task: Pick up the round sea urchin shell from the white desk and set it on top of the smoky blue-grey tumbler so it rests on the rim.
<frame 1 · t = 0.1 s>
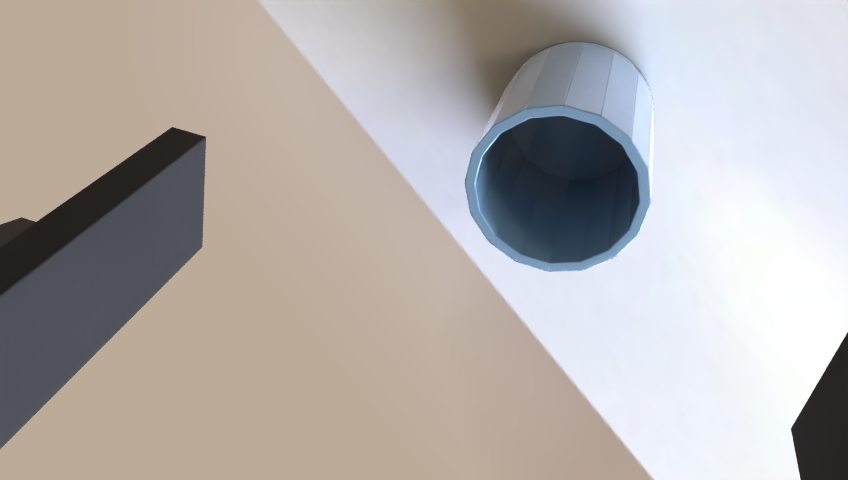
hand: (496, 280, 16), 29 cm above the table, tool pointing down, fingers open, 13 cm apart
tumbler: (576, 115, 44), on the table
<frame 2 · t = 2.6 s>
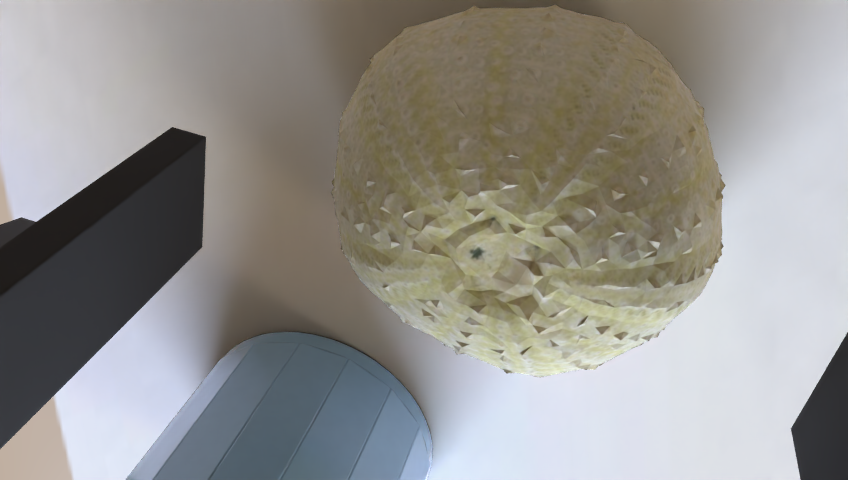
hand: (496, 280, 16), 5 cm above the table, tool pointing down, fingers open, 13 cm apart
tumbler: (318, 428, 28), on the table
sea urchin shell: (531, 161, 21), on the table
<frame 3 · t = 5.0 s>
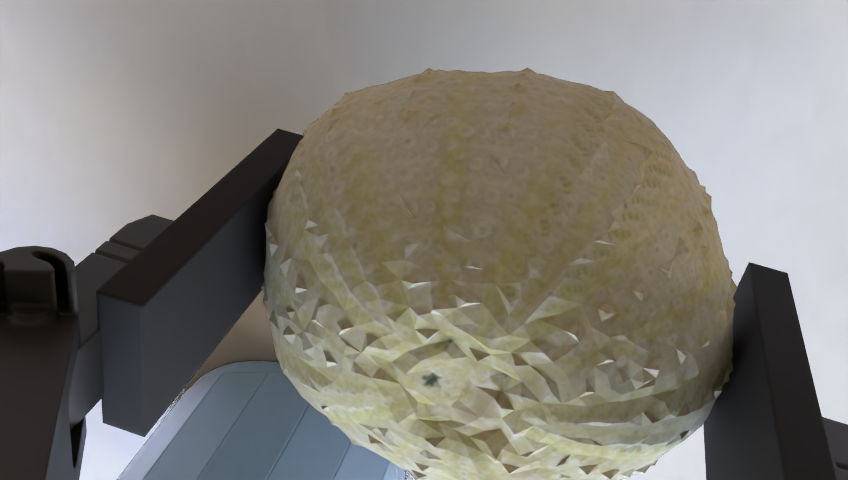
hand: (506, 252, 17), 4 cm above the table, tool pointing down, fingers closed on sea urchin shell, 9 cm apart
tumbler: (289, 458, 27), on the table
sea urchin shell: (504, 242, 18), point 3 cm above the table, touching gripper
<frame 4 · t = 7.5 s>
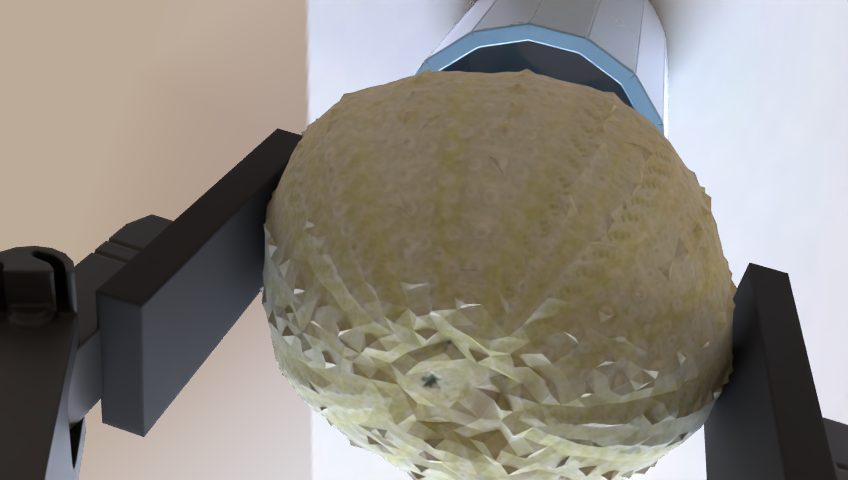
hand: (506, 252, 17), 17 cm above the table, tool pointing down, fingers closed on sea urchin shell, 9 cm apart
tumbler: (560, 63, 32), on the table
sea urchin shell: (503, 243, 18), point 17 cm above the table, touching gripper
when the fingers open (10 cm above the table, at t = 9.9 s): sea urchin shell stays where it is, resting on tumbler.
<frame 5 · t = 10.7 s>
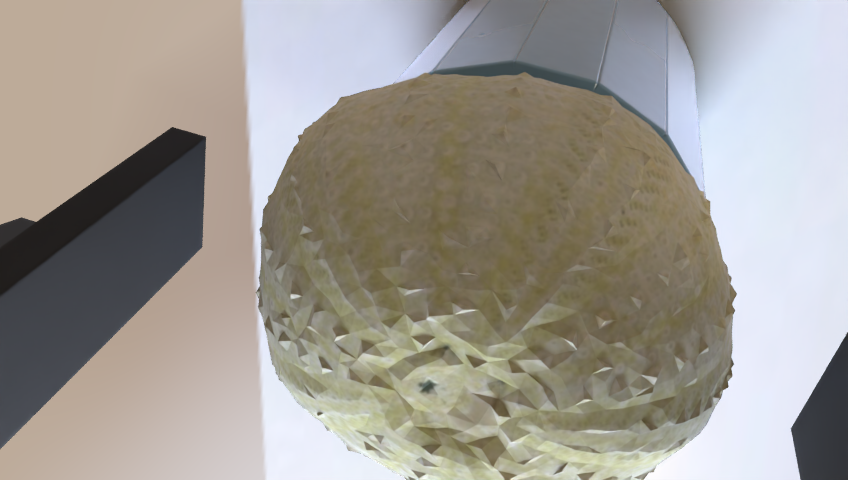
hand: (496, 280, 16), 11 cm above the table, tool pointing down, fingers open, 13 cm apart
tumbler: (559, 96, 26), on the table, touching sea urchin shell
sea urchin shell: (502, 246, 17), point 10 cm above the table, touching tumbler
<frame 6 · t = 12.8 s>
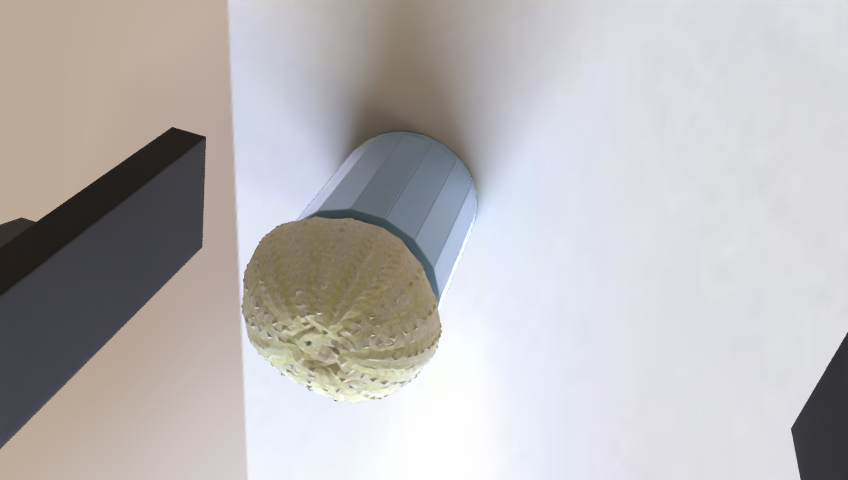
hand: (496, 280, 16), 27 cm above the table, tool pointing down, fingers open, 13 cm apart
tumbler: (408, 197, 47), on the table, touching sea urchin shell
sea urchin shell: (353, 285, 38), point 10 cm above the table, touching tumbler
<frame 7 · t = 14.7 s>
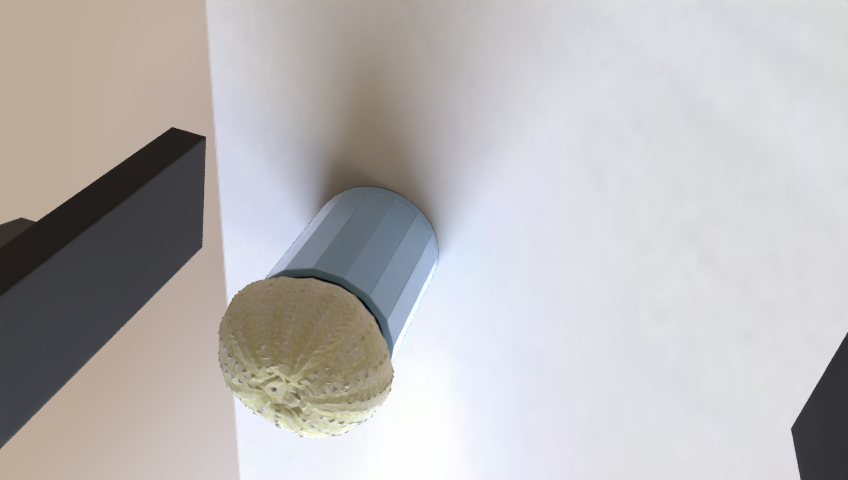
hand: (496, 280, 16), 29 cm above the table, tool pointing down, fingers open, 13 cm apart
tumbler: (376, 244, 51), on the table, touching sea urchin shell
sea urchin shell: (318, 332, 43), point 10 cm above the table, touching tumbler
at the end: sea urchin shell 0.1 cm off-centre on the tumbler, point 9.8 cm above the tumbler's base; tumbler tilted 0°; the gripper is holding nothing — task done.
